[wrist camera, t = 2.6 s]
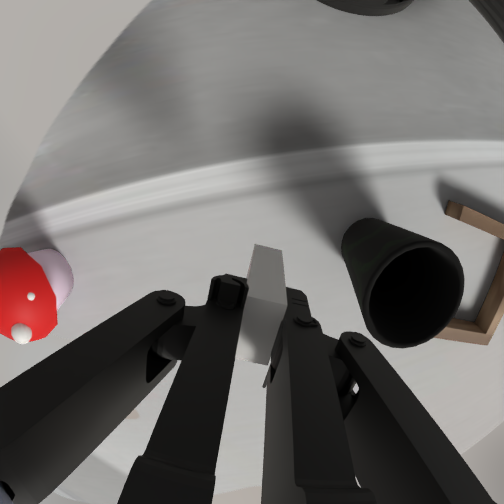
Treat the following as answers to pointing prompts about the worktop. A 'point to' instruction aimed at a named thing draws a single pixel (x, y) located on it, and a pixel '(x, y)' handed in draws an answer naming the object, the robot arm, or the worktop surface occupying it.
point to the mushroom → (32, 292)
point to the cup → (402, 282)
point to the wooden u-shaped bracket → (500, 293)
